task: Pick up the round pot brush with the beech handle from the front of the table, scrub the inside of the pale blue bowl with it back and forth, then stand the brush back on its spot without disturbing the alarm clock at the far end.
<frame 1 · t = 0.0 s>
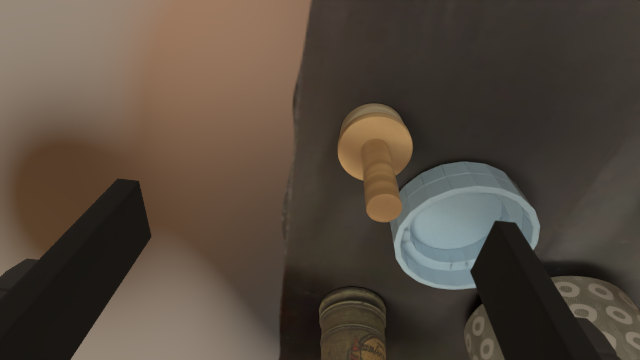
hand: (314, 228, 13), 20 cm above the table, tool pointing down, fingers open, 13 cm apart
container: (352, 306, 48), on the table
bowl: (451, 210, 38), on the table
planter: (532, 306, 46), on the table
brush: (372, 133, 33), on the table
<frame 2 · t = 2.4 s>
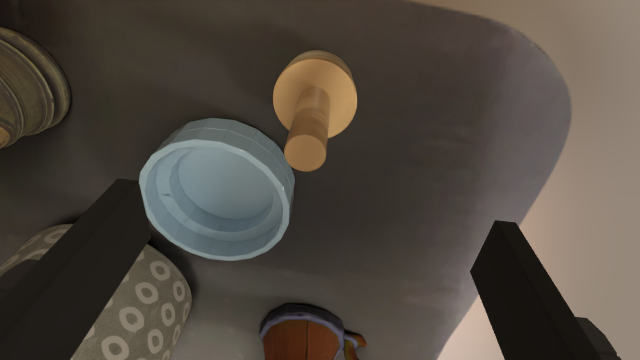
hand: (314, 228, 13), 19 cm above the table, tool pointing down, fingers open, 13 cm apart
container: (20, 78, 31), on the table
bowl: (229, 176, 35), on the table
planter: (124, 265, 44), on the table
mug: (326, 329, 49), on the table
brush: (317, 87, 30), on the table
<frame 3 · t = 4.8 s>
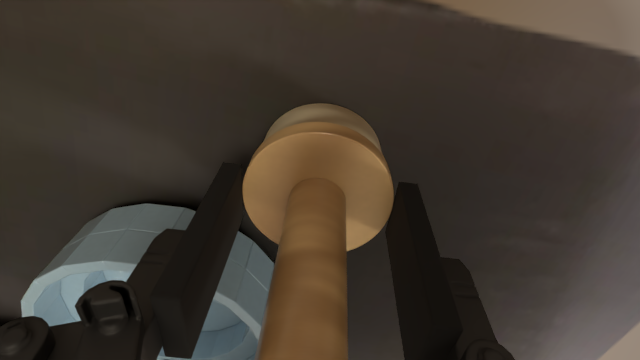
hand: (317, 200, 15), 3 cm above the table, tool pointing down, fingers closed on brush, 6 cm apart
bowl: (185, 276, 23), on the table
brush: (321, 159, 18), on the table, touching gripper
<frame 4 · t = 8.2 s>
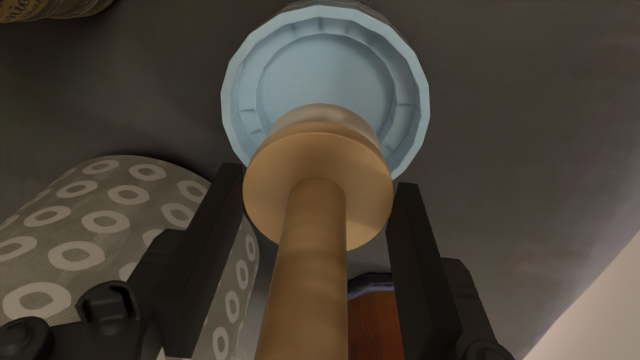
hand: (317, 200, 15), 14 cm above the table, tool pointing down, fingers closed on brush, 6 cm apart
bowl: (327, 93, 27), on the table
planter: (171, 221, 35), on the table
mug: (409, 307, 40), on the table
brush: (321, 159, 18), point 11 cm above the table, touching gripper
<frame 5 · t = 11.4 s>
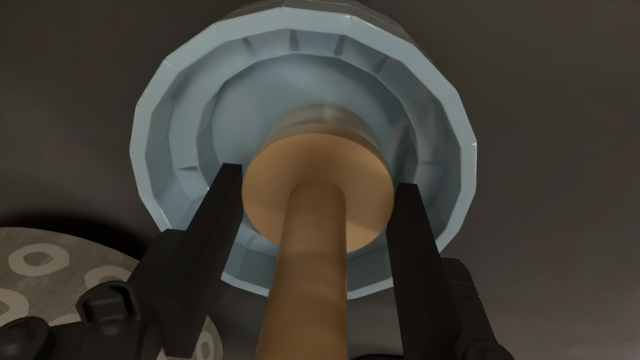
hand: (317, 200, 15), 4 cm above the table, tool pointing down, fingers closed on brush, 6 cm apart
bowl: (310, 137, 18), on the table
planter: (108, 294, 26), on the table
brush: (321, 160, 18), point 1 cm above the table, touching gripper
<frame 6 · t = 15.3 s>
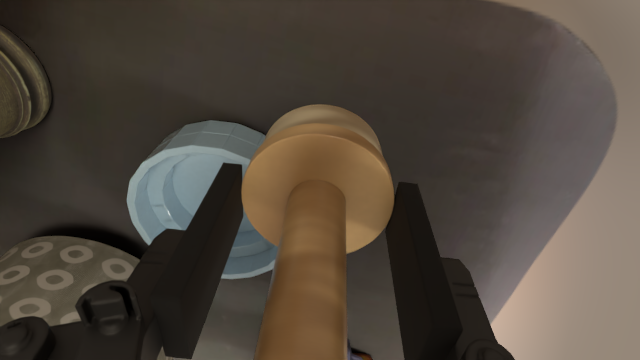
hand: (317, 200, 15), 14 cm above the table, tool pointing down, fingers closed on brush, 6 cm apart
bowl: (230, 185, 32), on the table
planter: (113, 278, 40), on the table
mug: (331, 348, 45), on the table
brush: (321, 160, 18), point 10 cm above the table, touching gripper
when the fingers open (3 cm above the table, at t = 18.1 s): brush stays where it is, on the table.
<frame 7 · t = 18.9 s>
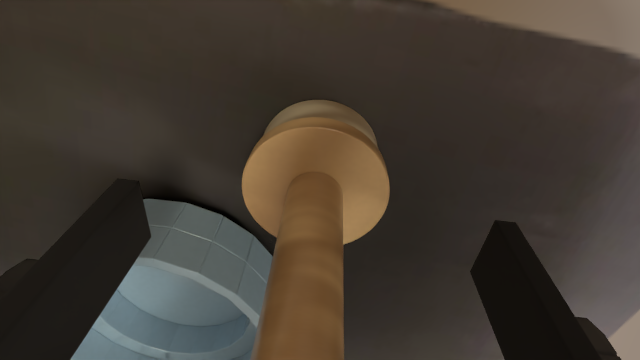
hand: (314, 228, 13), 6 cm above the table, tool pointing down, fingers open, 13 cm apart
bowl: (186, 271, 24), on the table
brush: (319, 155, 18), on the table
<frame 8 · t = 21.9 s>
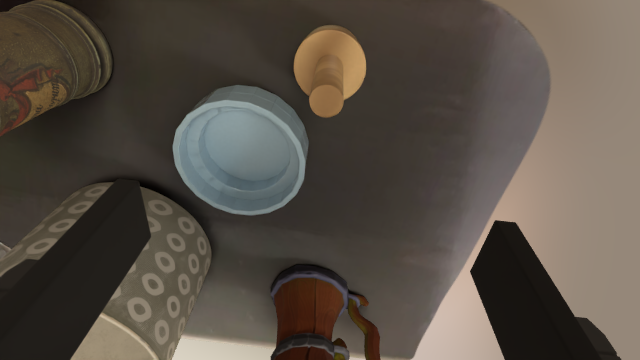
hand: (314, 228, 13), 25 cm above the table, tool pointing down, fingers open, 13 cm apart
container: (69, 48, 35), on the table
bowl: (250, 140, 39), on the table
planter: (149, 227, 48), on the table
mug: (331, 290, 53), on the table
brush: (330, 58, 34), on the table
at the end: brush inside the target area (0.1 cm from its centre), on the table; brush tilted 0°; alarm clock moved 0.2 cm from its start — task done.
